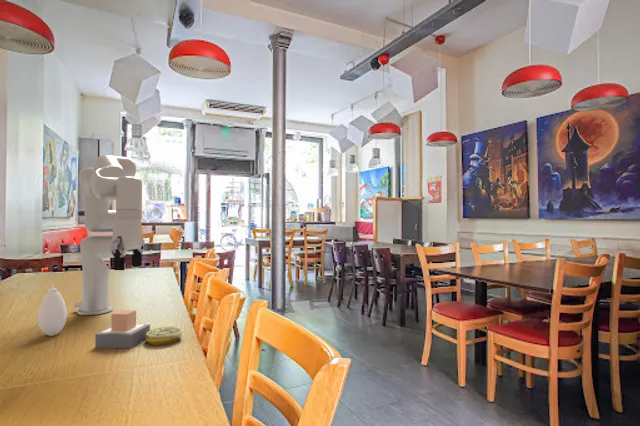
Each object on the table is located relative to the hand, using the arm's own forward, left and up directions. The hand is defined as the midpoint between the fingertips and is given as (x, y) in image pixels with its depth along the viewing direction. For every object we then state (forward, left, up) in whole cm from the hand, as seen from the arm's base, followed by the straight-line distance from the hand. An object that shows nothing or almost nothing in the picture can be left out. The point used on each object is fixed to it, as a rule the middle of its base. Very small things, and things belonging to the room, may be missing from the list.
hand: (128, 268), depth 121 cm
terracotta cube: (+1, -3, -18) cm, 19 cm away
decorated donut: (+13, -2, -23) cm, 26 cm away
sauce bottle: (-27, +2, -23) cm, 36 cm away
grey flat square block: (+1, -4, -23) cm, 23 cm away
